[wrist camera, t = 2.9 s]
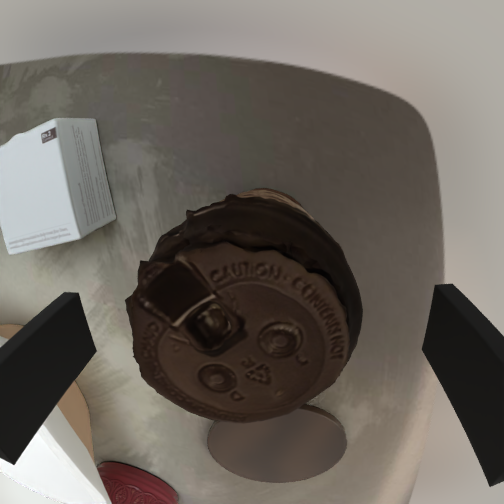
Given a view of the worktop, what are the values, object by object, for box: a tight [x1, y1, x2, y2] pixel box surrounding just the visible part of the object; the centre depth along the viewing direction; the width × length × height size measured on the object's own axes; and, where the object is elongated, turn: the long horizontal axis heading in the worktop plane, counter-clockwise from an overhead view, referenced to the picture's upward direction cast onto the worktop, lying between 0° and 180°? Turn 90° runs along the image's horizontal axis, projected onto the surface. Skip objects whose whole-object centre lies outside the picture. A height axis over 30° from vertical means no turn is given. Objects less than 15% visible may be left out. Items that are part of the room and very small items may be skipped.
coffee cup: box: [125, 188, 363, 424], centre depth 15 cm, size 9×8×13 cm
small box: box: [0, 118, 116, 255], centre depth 19 cm, size 8×8×5 cm
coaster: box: [207, 404, 347, 483], centre depth 28 cm, size 14×14×1 cm
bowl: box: [0, 324, 112, 504], centre depth 24 cm, size 24×25×11 cm
